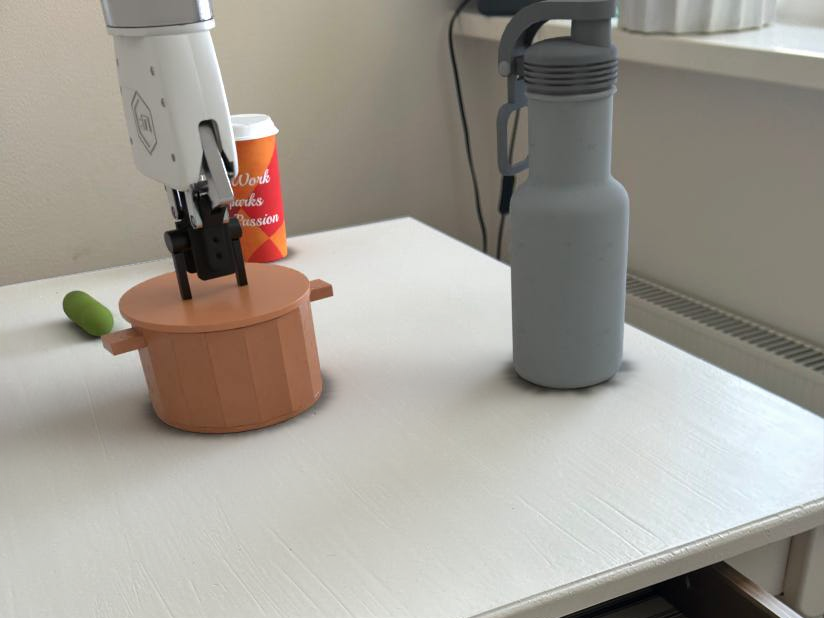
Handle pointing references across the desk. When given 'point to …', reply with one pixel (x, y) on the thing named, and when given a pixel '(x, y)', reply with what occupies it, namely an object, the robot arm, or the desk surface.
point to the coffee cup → (258, 189)
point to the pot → (230, 370)
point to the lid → (213, 293)
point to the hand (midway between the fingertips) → (211, 271)
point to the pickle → (88, 313)
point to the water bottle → (565, 196)
